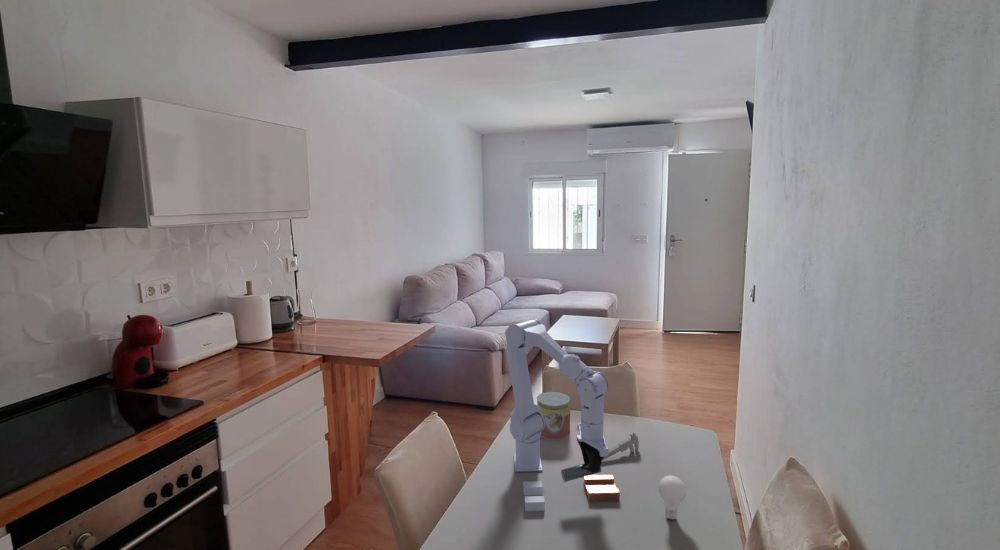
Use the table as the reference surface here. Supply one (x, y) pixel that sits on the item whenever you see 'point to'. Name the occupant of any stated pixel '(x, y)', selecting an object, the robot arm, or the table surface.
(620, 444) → the caliper
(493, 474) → the table surface
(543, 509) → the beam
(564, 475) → the axle
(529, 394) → the robot arm
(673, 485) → the lightbulb
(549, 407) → the canned food
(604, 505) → the table surface
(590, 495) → the v block
